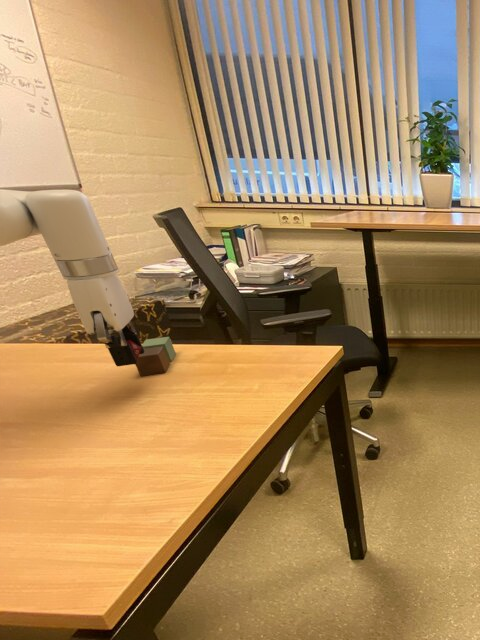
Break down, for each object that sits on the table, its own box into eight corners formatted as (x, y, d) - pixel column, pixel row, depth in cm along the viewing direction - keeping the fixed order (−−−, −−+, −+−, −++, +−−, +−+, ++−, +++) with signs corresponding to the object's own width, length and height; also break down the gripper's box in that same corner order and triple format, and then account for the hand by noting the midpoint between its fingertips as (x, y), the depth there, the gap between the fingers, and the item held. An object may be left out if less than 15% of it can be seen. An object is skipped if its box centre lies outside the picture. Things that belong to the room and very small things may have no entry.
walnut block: (140, 376, 90) (132, 357, 88) (146, 367, 93) (138, 349, 91) (165, 372, 91) (157, 354, 89) (170, 364, 95) (163, 346, 93)
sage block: (148, 364, 95) (140, 346, 92) (153, 357, 98) (145, 339, 96) (171, 361, 96) (164, 343, 94) (176, 353, 100) (169, 336, 98)
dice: (117, 359, 82) (108, 341, 80) (145, 353, 85) (137, 335, 83) (117, 366, 80) (108, 347, 78) (146, 360, 82) (138, 341, 80)
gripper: (80, 258, 79) (121, 346, 87) (37, 280, 65) (90, 382, 74) (129, 255, 81) (164, 340, 90) (97, 276, 68) (142, 374, 77)
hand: (130, 358), depth 82 cm, fingers closed on dice, 4 cm apart
